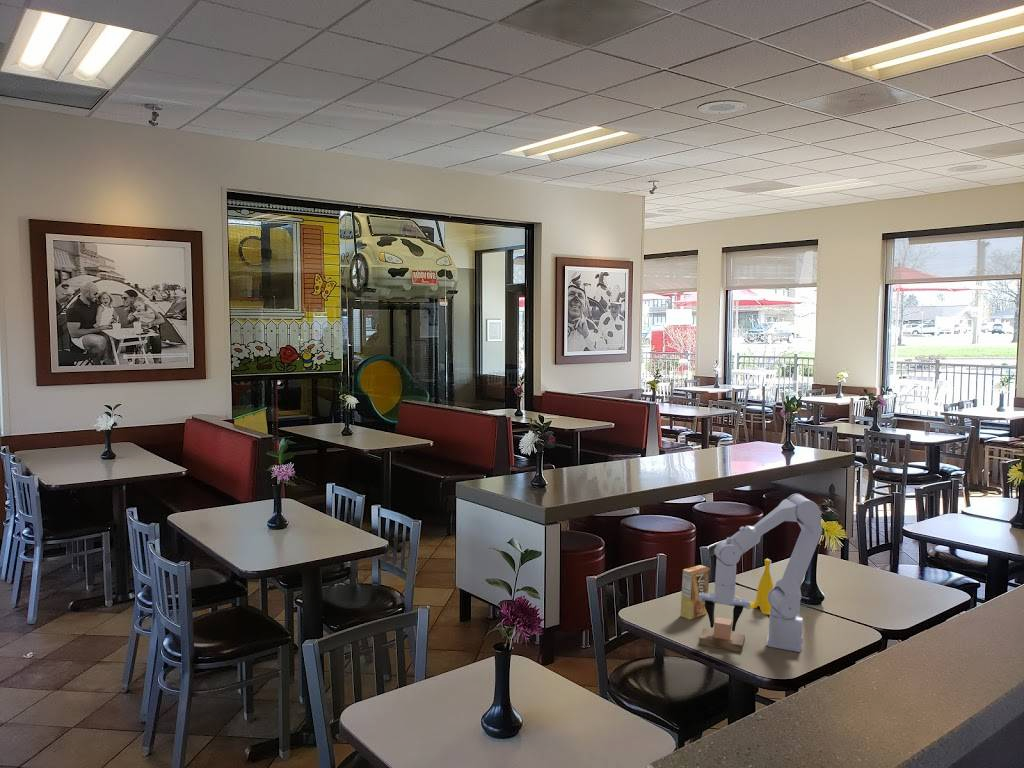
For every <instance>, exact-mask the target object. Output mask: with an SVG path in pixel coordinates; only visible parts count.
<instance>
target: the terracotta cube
mask: <svg viewBox="0 0 1024 768" xmlns="http://www.w3.org/2000/svg"><path fill="white" fill-rule="evenodd" d="M732 625H733V619H732V618H731V619H730V618H724V617H719V616H716V617H715V619H714V626H713V629H714V638H720V639H726V640H730V637H731V633H732V632H733V631H732Z"/></svg>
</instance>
